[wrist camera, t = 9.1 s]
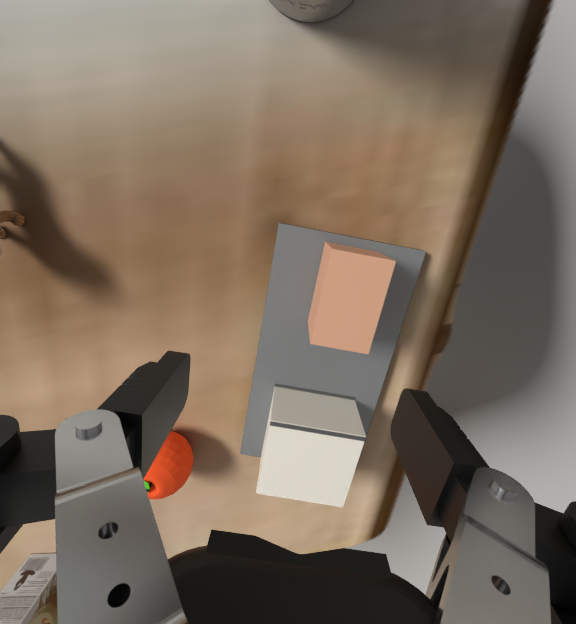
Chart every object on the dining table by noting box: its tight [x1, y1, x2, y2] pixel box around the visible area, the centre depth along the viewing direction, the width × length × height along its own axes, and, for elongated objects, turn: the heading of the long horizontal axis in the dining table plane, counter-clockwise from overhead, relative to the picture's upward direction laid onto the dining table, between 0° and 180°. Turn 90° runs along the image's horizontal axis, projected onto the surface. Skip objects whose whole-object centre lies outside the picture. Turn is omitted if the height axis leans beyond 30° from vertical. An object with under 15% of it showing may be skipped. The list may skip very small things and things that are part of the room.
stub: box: [308, 241, 396, 354], centre depth 27 cm, size 8×5×6 cm, turn 170°
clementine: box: [143, 431, 193, 499], centre depth 35 cm, size 8×7×7 cm
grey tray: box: [240, 223, 426, 507], centre depth 31 cm, size 27×14×7 cm, turn 170°
